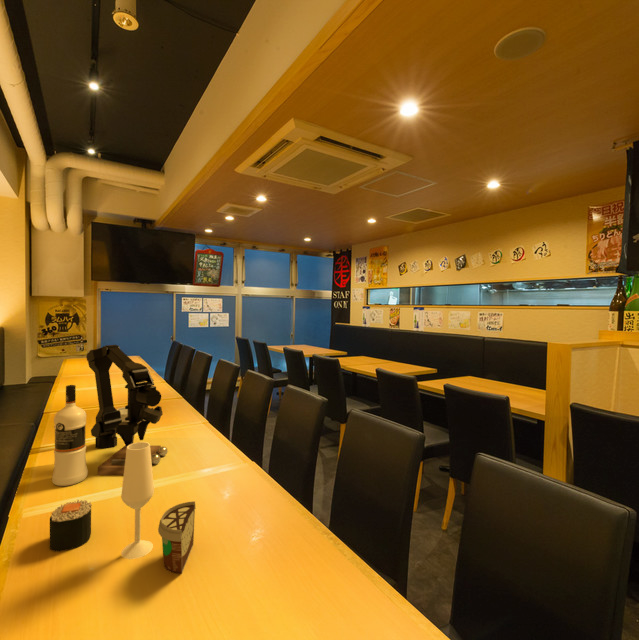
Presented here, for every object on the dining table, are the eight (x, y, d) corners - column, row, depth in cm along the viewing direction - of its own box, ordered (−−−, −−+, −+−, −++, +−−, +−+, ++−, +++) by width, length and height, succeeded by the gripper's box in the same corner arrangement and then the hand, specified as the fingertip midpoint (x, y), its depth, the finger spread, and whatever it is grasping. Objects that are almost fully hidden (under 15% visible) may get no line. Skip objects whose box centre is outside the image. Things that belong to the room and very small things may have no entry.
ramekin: (116, 431, 160) (116, 415, 160) (109, 423, 170) (109, 408, 170) (148, 425, 169) (148, 410, 169) (140, 418, 179) (140, 404, 179)
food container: (168, 542, 87) (168, 500, 87) (195, 541, 88) (195, 500, 88) (148, 580, 75) (149, 532, 75) (179, 579, 76) (180, 531, 75)
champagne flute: (130, 539, 88) (131, 439, 87) (158, 541, 88) (160, 441, 87) (114, 558, 81) (115, 451, 80) (144, 560, 81) (145, 452, 80)
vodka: (94, 476, 119) (95, 383, 118) (67, 489, 110) (67, 389, 109) (72, 471, 122) (73, 381, 121) (44, 484, 113) (44, 386, 112)
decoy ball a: (156, 457, 134) (156, 448, 134) (159, 454, 138) (159, 445, 138) (165, 457, 135) (165, 448, 134) (168, 454, 138) (169, 445, 138)
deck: (97, 474, 120) (97, 462, 120) (125, 451, 139) (125, 441, 139) (138, 475, 121) (138, 462, 121) (160, 452, 140) (160, 441, 139)
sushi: (45, 555, 82) (46, 519, 81) (55, 533, 89) (55, 501, 89) (88, 546, 85) (88, 512, 85) (94, 526, 93) (94, 495, 92)
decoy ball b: (148, 466, 127) (148, 456, 127) (152, 461, 131) (152, 452, 131) (158, 466, 128) (158, 456, 128) (161, 462, 131) (162, 452, 131)
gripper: (148, 409, 124) (148, 455, 124) (168, 395, 142) (168, 435, 143) (114, 408, 123) (114, 455, 124) (139, 395, 142) (138, 435, 142)
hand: (136, 444), depth 133 cm, fingers open, 9 cm apart
